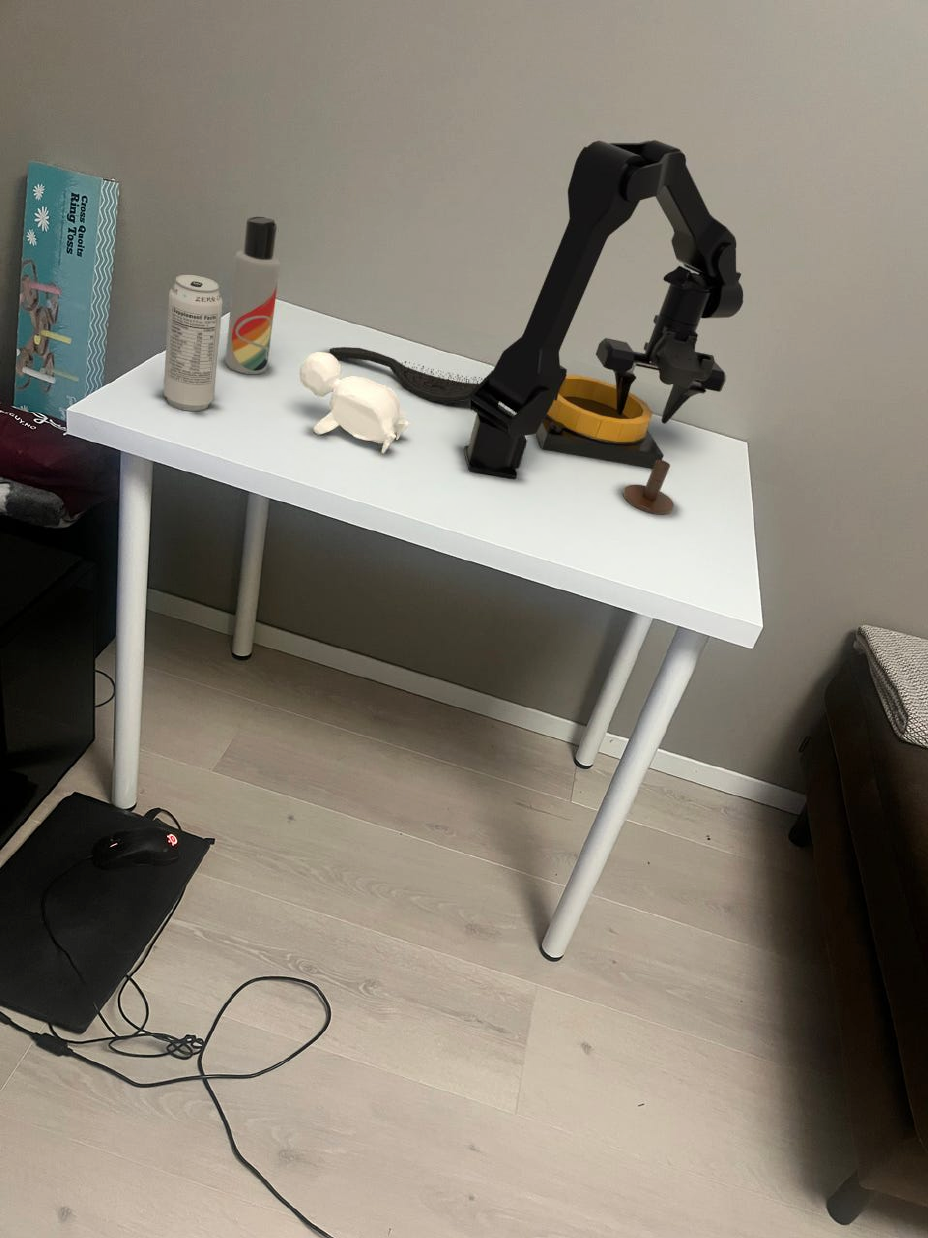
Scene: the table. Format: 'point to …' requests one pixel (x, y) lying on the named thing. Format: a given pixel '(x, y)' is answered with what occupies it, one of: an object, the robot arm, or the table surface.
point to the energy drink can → (192, 342)
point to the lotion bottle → (253, 299)
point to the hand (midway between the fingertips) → (641, 418)
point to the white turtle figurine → (353, 401)
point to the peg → (651, 492)
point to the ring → (593, 422)
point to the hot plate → (583, 445)
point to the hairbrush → (414, 377)
